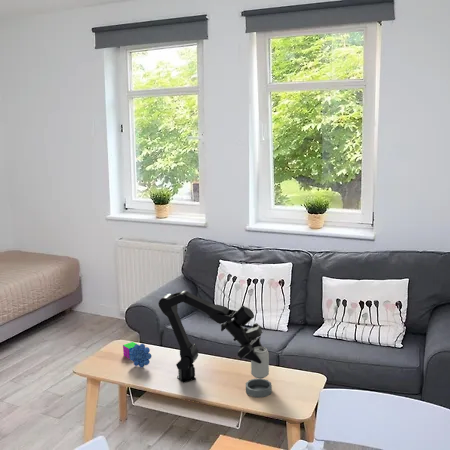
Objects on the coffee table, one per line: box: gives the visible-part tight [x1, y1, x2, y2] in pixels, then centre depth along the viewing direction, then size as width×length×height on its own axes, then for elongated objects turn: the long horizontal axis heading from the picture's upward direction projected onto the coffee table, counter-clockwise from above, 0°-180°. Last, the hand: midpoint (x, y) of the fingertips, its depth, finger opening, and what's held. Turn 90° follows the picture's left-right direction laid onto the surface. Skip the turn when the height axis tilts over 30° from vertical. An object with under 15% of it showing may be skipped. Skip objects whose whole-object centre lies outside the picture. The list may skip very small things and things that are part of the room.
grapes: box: [129, 343, 152, 369], centre depth 263 cm, size 12×7×12 cm, turn 64°
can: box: [250, 346, 270, 379], centre depth 239 cm, size 8×8×12 cm
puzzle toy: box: [122, 341, 137, 360], centre depth 276 cm, size 6×6×6 cm
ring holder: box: [245, 378, 273, 398], centre depth 238 cm, size 11×11×3 cm
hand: (263, 358), depth 239 cm, fingers closed on can, 7 cm apart
